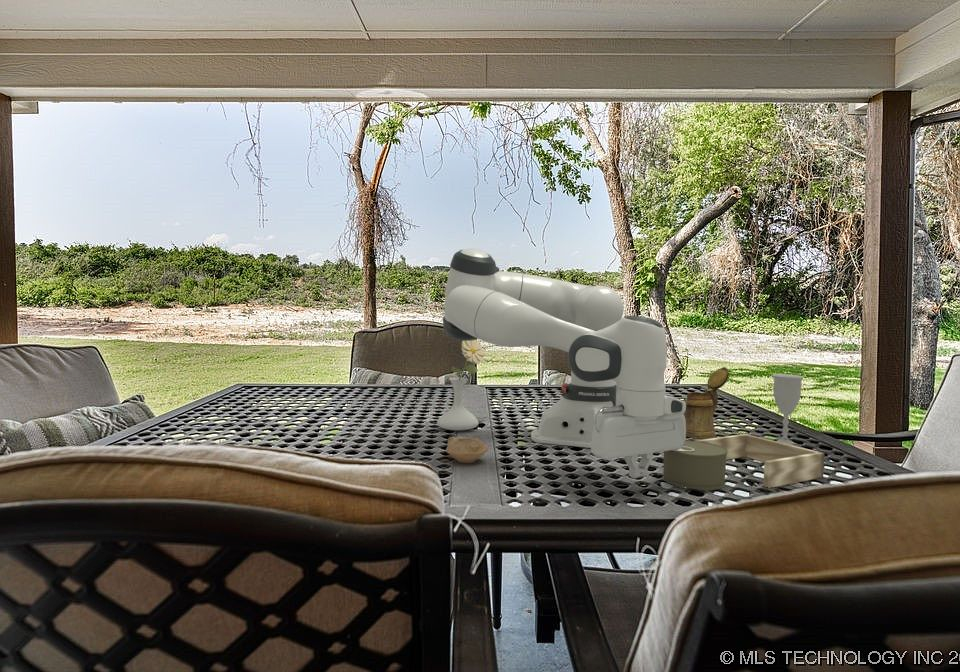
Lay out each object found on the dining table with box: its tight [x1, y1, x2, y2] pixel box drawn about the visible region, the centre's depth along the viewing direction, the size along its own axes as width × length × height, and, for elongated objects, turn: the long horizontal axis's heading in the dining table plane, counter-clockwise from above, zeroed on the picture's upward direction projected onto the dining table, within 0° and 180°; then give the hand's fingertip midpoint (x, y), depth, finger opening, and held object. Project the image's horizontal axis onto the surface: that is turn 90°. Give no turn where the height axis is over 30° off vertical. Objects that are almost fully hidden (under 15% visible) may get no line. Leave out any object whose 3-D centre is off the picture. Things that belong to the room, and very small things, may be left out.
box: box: [695, 433, 825, 489], centre depth 128 cm, size 17×19×5 cm
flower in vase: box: [436, 339, 486, 431], centre depth 163 cm, size 13×11×25 cm
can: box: [662, 439, 727, 491], centre depth 119 cm, size 12×12×7 cm
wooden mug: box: [683, 366, 730, 440], centre depth 161 cm, size 9×14×18 cm, turn 114°
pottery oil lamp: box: [445, 436, 489, 464], centre depth 133 cm, size 9×12×7 cm
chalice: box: [772, 373, 804, 446], centre depth 145 cm, size 7×7×18 cm
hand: (638, 476), depth 113 cm, fingers closed
